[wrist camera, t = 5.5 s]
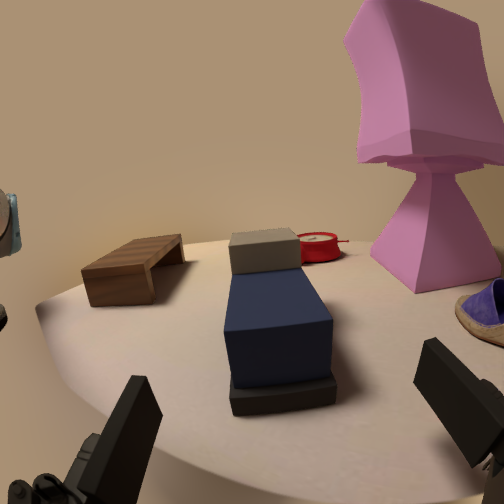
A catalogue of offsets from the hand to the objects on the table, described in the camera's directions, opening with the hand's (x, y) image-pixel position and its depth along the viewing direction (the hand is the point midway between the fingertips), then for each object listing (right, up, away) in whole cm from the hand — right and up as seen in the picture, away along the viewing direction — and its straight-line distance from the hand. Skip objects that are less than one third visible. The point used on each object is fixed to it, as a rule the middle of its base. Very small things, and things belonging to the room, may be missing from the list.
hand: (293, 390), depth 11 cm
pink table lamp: (+31, +3, +30) cm, 44 cm away
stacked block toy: (0, -3, +16) cm, 16 cm away
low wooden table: (-23, +1, +40) cm, 46 cm away
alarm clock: (+10, +5, +44) cm, 46 cm away
